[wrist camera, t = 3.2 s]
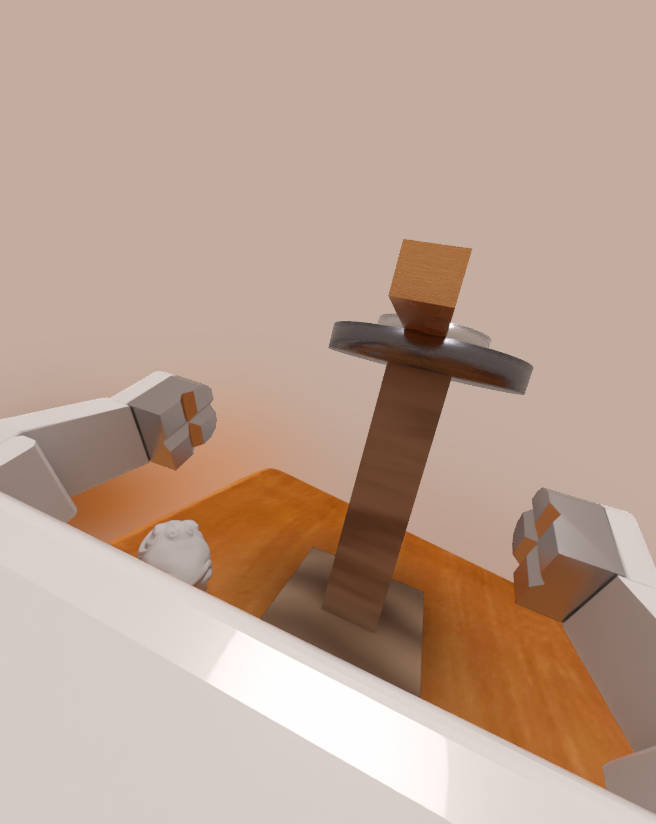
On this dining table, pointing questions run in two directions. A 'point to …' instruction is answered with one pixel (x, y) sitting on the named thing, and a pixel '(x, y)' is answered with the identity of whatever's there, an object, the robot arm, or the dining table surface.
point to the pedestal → (385, 503)
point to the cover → (430, 291)
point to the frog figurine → (178, 552)
